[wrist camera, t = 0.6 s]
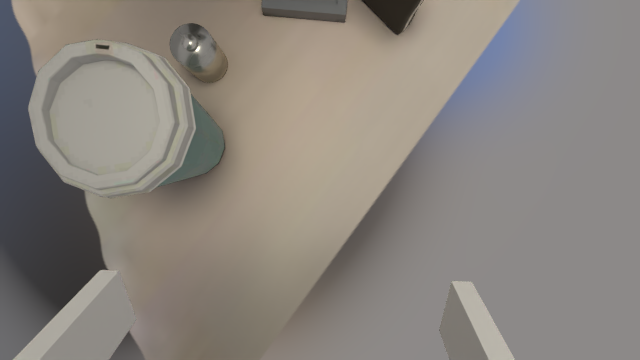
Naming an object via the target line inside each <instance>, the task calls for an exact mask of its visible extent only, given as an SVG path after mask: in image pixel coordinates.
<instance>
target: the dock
mask: <svg viewBox="0 0 640 360" xmlns="http://www.w3.org/2000/svg"><path fill="white" fill-rule="evenodd" d="M261 8H262V11H263V14H264V15H268V16H279V17H290V18H302V19H313V20H325V21H336V22H345V18H346V9H347V0H262V6H261Z"/></svg>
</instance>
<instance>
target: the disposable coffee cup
mask: <svg viewBox="0 0 640 360" xmlns="http://www.w3.org/2000/svg"><path fill="white" fill-rule="evenodd" d="M28 110H29V115H30V120H31V124H32V129H33V134H34V139H35V143H36V147H37V148H38V149H39V151H40V152H41V154H42V155H43V156H44V157H45V159H46V160H47V161H48V163H49V164H50V165H51V166H52V168H53V169H54V170H55V171H56V172H57V174H58V175H59V176H60V178H61V179H62V180H63V182H65V183H67V184H70V185H73V186H75V187H78V188H80V189H83V190H85V191H88V192H91V193H93V194H96V195H98V196H101V197H108V198H116V197H123V196H129V195H135V194H141V193H147V192H151V191H152V190H153V189H154V188H156V187H159V186H163V185H166V184H170V183H173V182H177V181H180V180H184V179H187V178H191V177H195V176H198V175H202V174H205V173H207V172H208V171H209V170H211V169H212V168H213V167H214V166H216V165H217V164H218V163H219V161H220V158H221V156H222V153H223V151H224V148H225V146H224V139H223V133H222V130H221V129H220V128H219V126H218V125H217V124H216V123H215V122H214V120H213V119H212V118H211V117H210V116H209V114H208V113H207V112H206V111H205V110H204V109H203V107H202V106H201V105H200V104H199V103H198V102H197V100H196V99H195V98H194V97H193V96H192V95H191V92H190V88H189V87H188V86H187V84H186V83H185V82H184V81H183V79H182V78H181V77H180V76H179V75H178V73H177V72H176V71H175V70H174V68H173V67H172V66H171V65H170V63H169V62H168V61H167V60H166V58H165V57H162V56H159V55H157V54H155V53H152V52H150V51H147V50H144V49H142V48H139V47H137V46H134V45H131V44H129V43H124V42H114V41H109V40H98V39H96V40H90V41H85V42H79V43H73V44H67V45H65V46H64V47H63V48H62V49H61V50H60V51H59V52H58V53H57V54H56V55H55V56H54V57H53V58H52V59H51V60H49V61H48V62H47V63H46V64H45V65H44V66H43V67H42V68H41V69H40V70H39V71H38V74H37V78H36V81H35V85H34V89H33V92H32V96H31V99H30V103H29V106H28Z"/></svg>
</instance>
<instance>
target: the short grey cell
mask: <svg viewBox="0 0 640 360" xmlns="http://www.w3.org/2000/svg"><path fill="white" fill-rule="evenodd" d="M170 50H171V53H172V55H173V56H174V58H175V59H176V60H177V61H178V62H180V63H181V64H182V65H183V66H184V67H185V68H186V69H188V70H189V71H190V72H191V73H192V74H193V75H194V76H196V77H197V78H198V79H199V80H201V81H203V82H207V83H213V82H216V81H218V80H220V79H221V78H222V77H223V76H224V75H225V73H226V71H227V68H228V62H227V58H226V56H225V54H224V53H223V52H222V50H221V49H220V48H219V46H218V45H217V43H216V42H215V41H214V39H213V38H212V37H211V35H210V34H209V32H208V31H207V30H206V29H205V28H204V27H202V26H200V25H198V24H194V23H189V24H184V25H182V26H180V27H178V28H177V29H176V30H175V31H174V33H173V34H172V36H171V39H170Z"/></svg>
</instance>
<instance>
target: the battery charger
mask: <svg viewBox="0 0 640 360" xmlns="http://www.w3.org/2000/svg"><path fill="white" fill-rule="evenodd" d="M363 1H364V2H365V3H366V4H367V5H368V6H369V7H370V8H371V9H372V10H373V11H374V12H375V13H376V14H377V15H378V16H379V17H380V18H381V19H382V20H383V21H384V22H385V23H386V24H387V25H388V26H389V27H390V28H391V29H392V30H393V31H395V32H396V33H397V34H399V33H401V32H402V31H404V30H405V29H406V27H407V26H408V25H409V24H410V22H411V21H412V19H413V17H414V16H415V13H416V11H417V9H418V8H419V6H420V5H421V3H422V2H423V0H363Z"/></svg>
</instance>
